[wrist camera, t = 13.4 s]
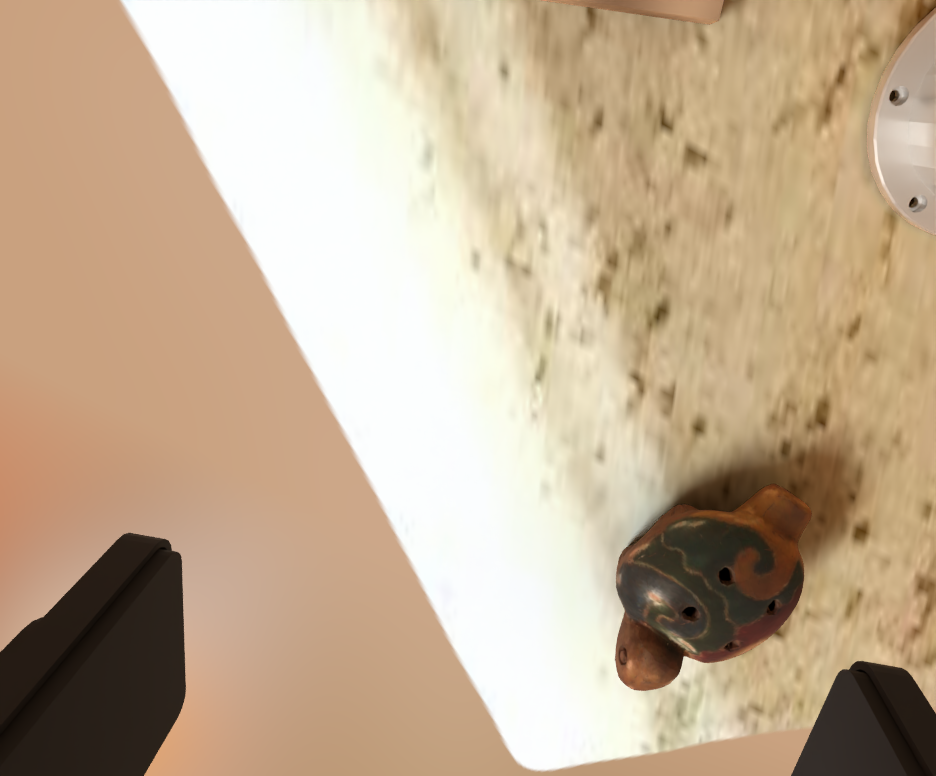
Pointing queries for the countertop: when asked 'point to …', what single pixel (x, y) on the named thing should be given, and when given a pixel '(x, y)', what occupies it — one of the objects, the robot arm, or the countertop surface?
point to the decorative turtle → (708, 585)
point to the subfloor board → (659, 8)
